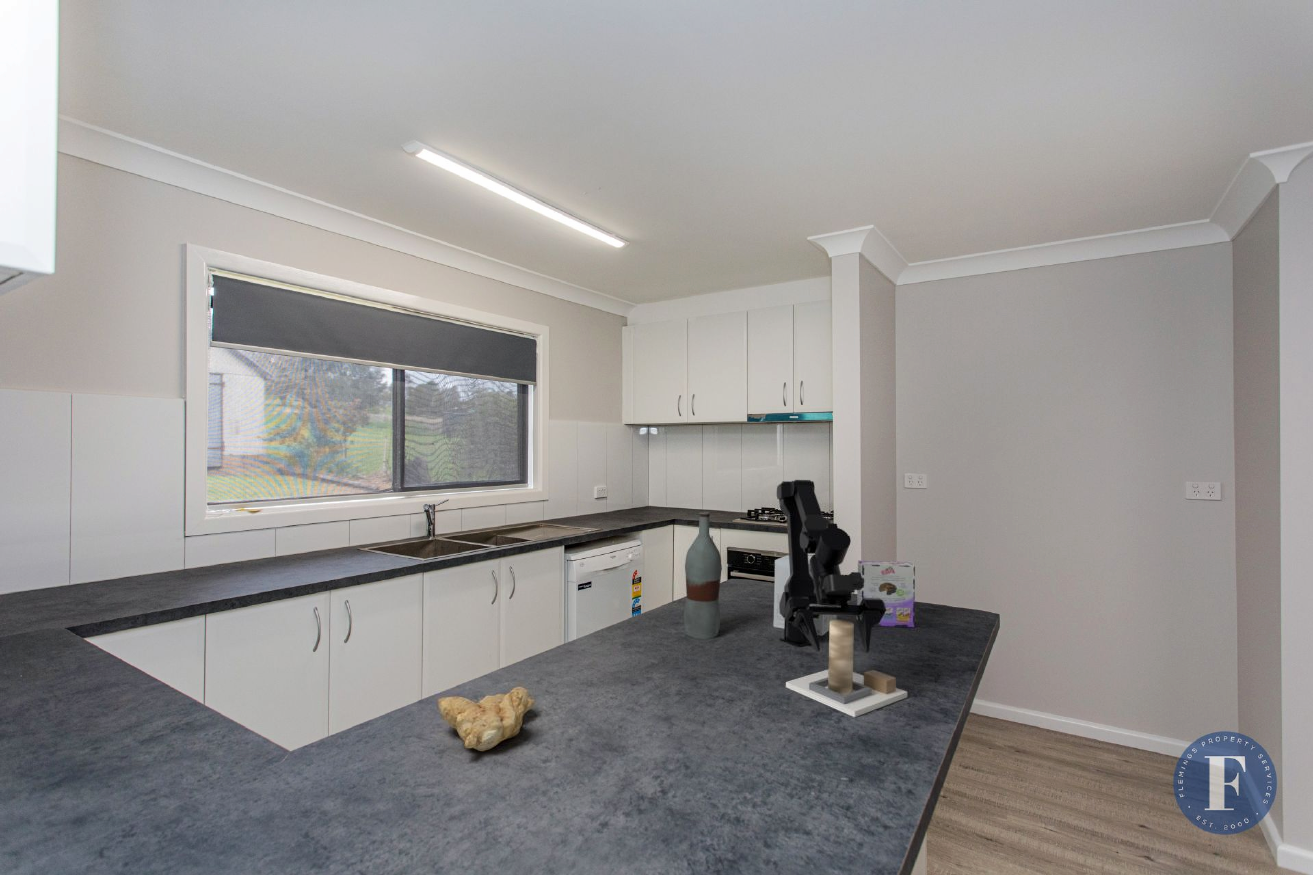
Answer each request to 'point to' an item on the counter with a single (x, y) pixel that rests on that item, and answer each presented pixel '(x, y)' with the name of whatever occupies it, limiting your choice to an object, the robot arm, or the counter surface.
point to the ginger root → (486, 717)
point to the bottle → (702, 584)
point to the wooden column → (841, 656)
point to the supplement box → (780, 580)
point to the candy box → (890, 590)
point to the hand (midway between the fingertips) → (843, 651)
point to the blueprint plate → (865, 691)
